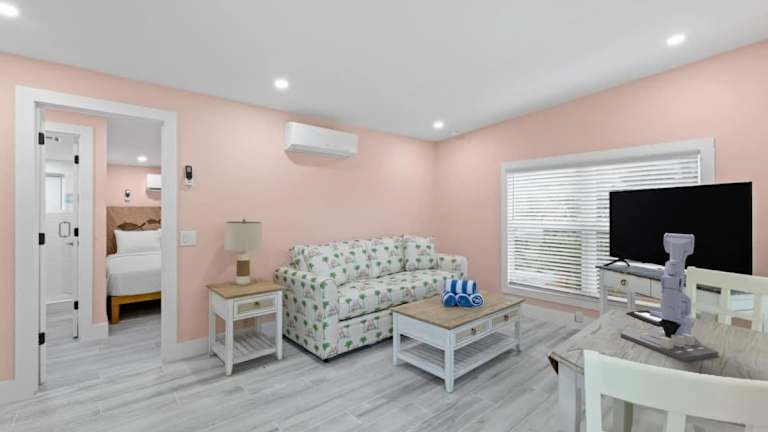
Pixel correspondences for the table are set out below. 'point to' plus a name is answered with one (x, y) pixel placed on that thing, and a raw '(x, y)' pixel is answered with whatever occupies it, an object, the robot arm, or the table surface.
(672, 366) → the table surface
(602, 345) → the table surface
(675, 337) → the handle
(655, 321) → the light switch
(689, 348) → the breaker panel
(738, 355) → the table surface
